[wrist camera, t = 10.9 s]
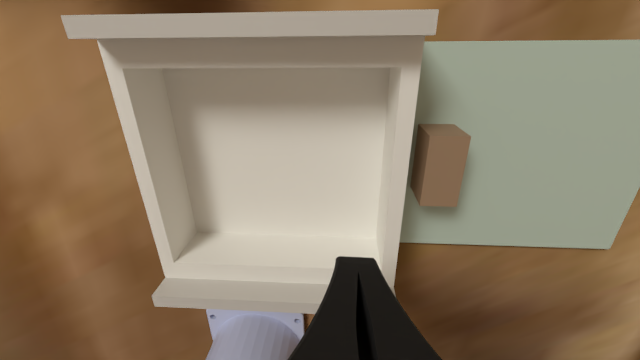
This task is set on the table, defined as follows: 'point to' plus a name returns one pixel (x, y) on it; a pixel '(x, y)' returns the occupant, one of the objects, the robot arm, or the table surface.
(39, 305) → the table surface
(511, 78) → the cover plate
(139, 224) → the table surface
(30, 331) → the table surface
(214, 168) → the box
